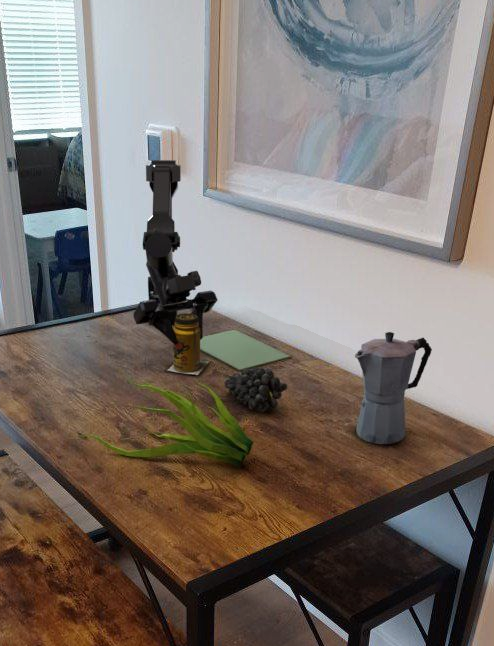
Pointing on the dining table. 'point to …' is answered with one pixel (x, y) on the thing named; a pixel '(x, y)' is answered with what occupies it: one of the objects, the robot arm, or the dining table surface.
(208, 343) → the mat
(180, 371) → the condiment
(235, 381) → the fruit
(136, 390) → the dining table surface
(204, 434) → the decorative plant
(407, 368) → the moka pot
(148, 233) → the robot arm
